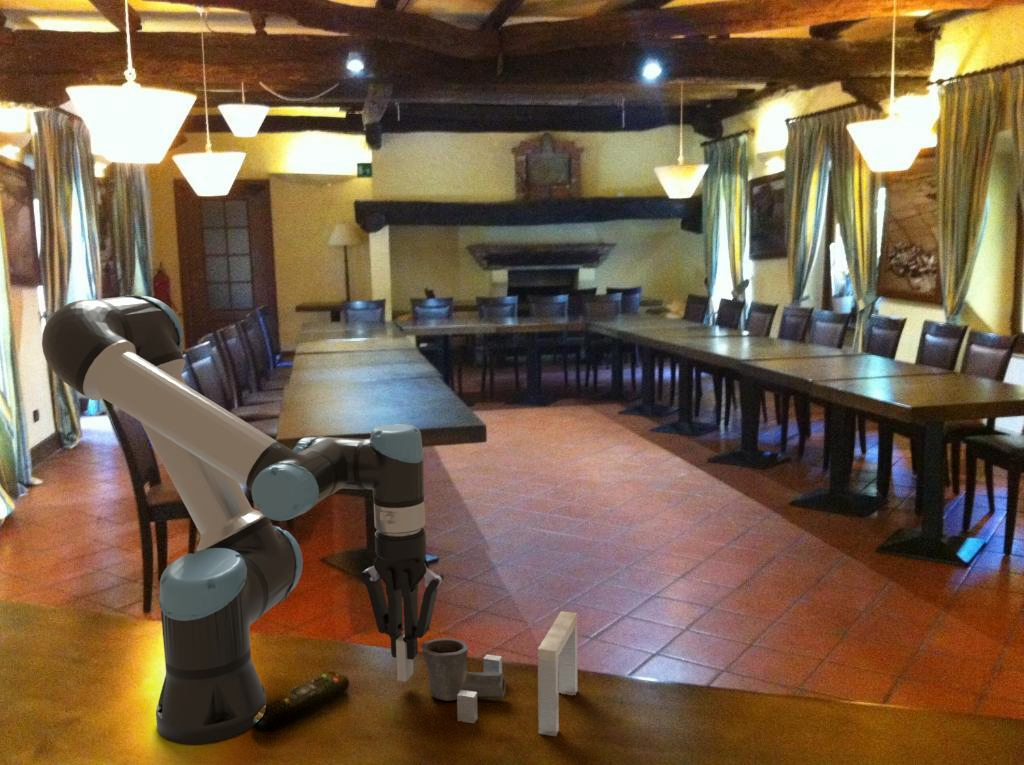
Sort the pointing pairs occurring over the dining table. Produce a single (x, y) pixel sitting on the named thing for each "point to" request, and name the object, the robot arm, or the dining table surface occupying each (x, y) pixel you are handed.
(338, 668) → the dining table surface
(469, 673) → the pipe
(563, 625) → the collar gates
